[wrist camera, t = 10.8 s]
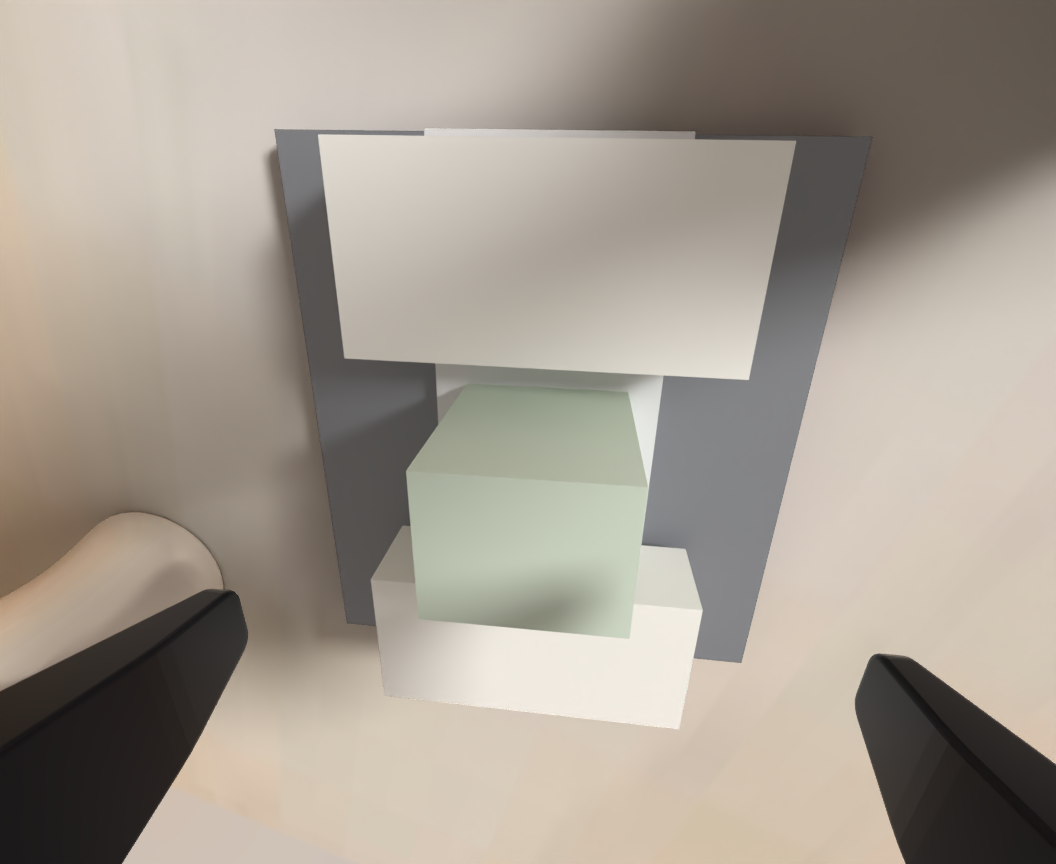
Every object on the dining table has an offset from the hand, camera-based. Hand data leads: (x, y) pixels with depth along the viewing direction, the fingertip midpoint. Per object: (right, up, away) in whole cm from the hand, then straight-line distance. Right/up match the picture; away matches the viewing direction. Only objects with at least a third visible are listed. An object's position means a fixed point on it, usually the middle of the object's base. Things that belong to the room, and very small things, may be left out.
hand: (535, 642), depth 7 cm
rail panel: (+1, +3, +11) cm, 11 cm away
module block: (0, +3, +9) cm, 10 cm away
